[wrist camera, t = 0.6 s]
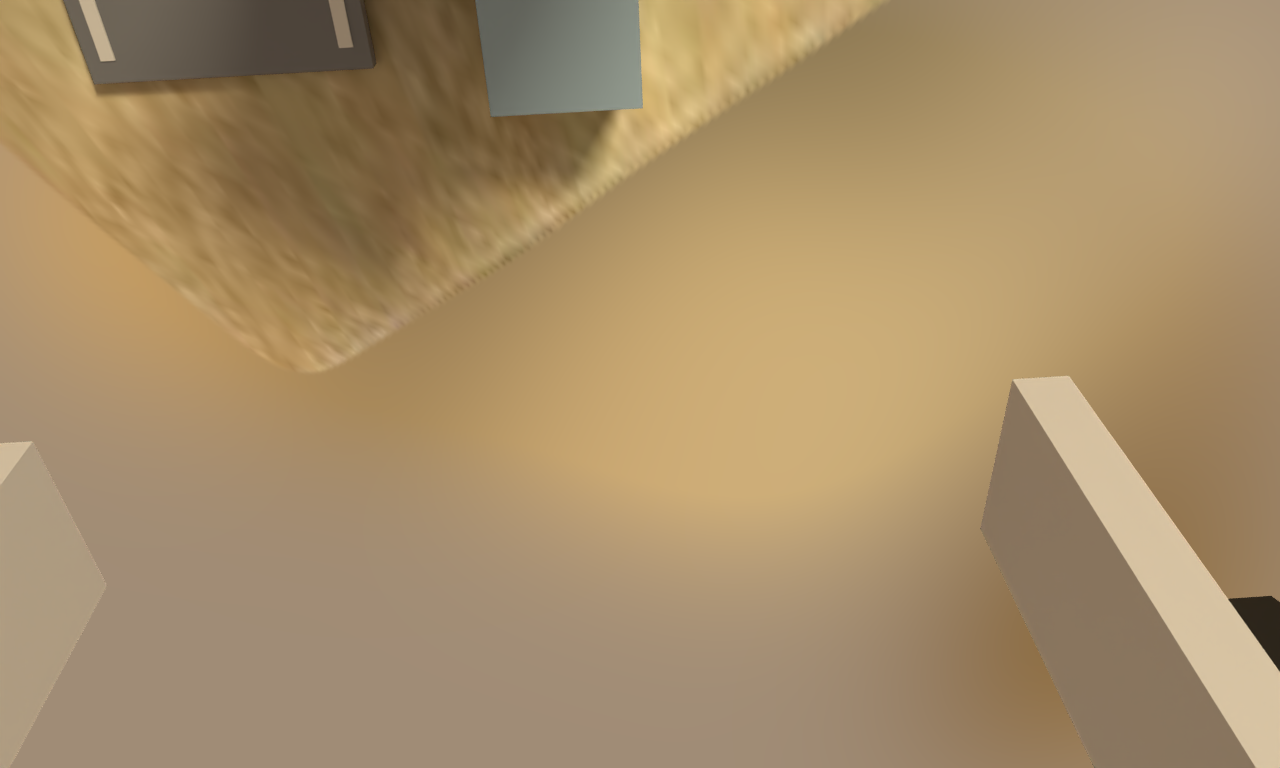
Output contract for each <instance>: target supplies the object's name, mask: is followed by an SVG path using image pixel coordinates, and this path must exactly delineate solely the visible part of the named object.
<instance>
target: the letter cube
mask: <svg viewBox="0 0 1280 768" xmlns="http://www.w3.org/2000/svg"><path fill="white" fill-rule="evenodd" d="M475 2H476V10H477V17H478V25H479V32H480V40H481V47H482V55H483V62H484V70H485V77H486V85H487V92H488V99H489V107H490V114H491V117H498V116H515V115H533V114H550V113H568V112H585V111H603V110H620V109H638V108H643V102H642V77H641V53H640V29H639V4H638V0H475Z"/></svg>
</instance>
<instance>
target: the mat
mask: <svg viewBox="0 0 1280 768" xmlns="http://www.w3.org/2000/svg"><path fill="white" fill-rule="evenodd" d="M63 1H64V4H65V6H66V9H67V12H68V14H69V17H70V20H71V22H72V25H73V28H74V31H75V33H76V36H77V39H78V41H79V44H80V47H81V50H82V52H83V55H84V58H85V60H86V63H87V66H88V68H89V71H90V74H91V77H92V79H93V82H94V84H106V83H124V82H142V81H159V80H177V79H195V78H212V77H230V76H247V75H265V74H283V73H300V72H318V71H336V70H353V69H371V68H374V66H375V65H376V59H375V54H374V49H373V44H372V39H371V34H370V29H369V24H368V19H367V14H366V9H365V4H364V0H63Z"/></svg>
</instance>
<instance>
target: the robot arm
mask: <svg viewBox="0 0 1280 768" xmlns="http://www.w3.org/2000/svg"><path fill="white" fill-rule="evenodd" d="M980 529H981V531H982V533H983V535H984V537H985V540H986V541H987V544H988V546H989V548H990V550H991V552H992V554H993V556H994V559H995V561H996V563H997V565H998V567H999V569H1000V571H1001V573H1002V575H1003V577H1004V579H1005V581H1006V584H1007V585H1008V588H1009V590H1010V592H1011V594H1012V596H1013V598H1014V600H1015V603H1016V605H1017V607H1018V609H1019V611H1020V613H1021V615H1022V617H1023V619H1024V622H1025V624H1026V626H1027V628H1028V630H1029V632H1030V634H1031V636H1032V638H1033V640H1034V642H1035V645H1036V646H1037V649H1038V651H1039V653H1040V655H1041V657H1042V659H1043V661H1044V664H1045V665H1046V668H1047V670H1048V672H1049V674H1050V676H1051V678H1052V680H1053V682H1054V685H1055V687H1056V689H1057V690H1058V693H1059V695H1060V697H1061V699H1062V701H1063V703H1064V705H1065V707H1066V710H1067V712H1068V714H1069V716H1070V718H1071V720H1072V722H1073V724H1074V727H1075V729H1076V731H1077V733H1078V735H1079V737H1080V739H1081V741H1082V743H1083V745H1084V747H1085V750H1086V752H1087V754H1088V756H1089V758H1090V760H1091V762H1092V764H1093V766H1094V768H1280V602H1279V601H1277V600H1276V599H1275V598H1273V597H1272V596H1263V597H1249V598H1233V599H1227V597H1226V596H1225V594H1224V593H1223V592H1222V590H1221V589H1220V587H1219V586H1218V585H1217V583H1216V582H1215V580H1214V579H1213V577H1212V576H1211V575H1210V573H1209V572H1208V570H1207V569H1206V568H1205V566H1204V565H1203V563H1202V562H1201V561H1200V559H1199V558H1198V556H1197V555H1196V554H1195V552H1194V551H1193V550H1192V548H1191V547H1190V545H1189V544H1188V542H1187V541H1186V540H1185V538H1184V537H1183V535H1182V534H1181V533H1180V531H1179V530H1178V528H1177V527H1176V526H1175V524H1174V523H1173V521H1172V520H1171V519H1170V517H1169V516H1168V514H1167V513H1166V512H1165V510H1164V509H1163V507H1162V506H1161V505H1160V503H1159V502H1158V500H1157V499H1156V498H1155V496H1154V495H1153V493H1152V492H1151V491H1150V489H1149V488H1148V486H1147V485H1146V483H1145V482H1144V481H1143V479H1142V478H1141V477H1140V475H1139V474H1138V472H1137V471H1136V469H1135V468H1134V467H1133V465H1132V464H1131V462H1130V461H1129V460H1128V458H1127V457H1126V455H1125V454H1124V453H1123V451H1122V450H1121V448H1120V447H1119V446H1118V444H1117V443H1116V442H1115V440H1114V439H1113V437H1112V436H1111V434H1110V433H1109V432H1108V430H1107V429H1106V428H1105V426H1104V425H1103V423H1102V422H1101V421H1100V419H1099V418H1098V416H1097V415H1096V413H1095V412H1094V411H1093V409H1092V408H1091V406H1090V405H1089V404H1088V402H1087V401H1086V399H1085V398H1084V397H1083V395H1082V394H1081V393H1080V391H1079V390H1078V388H1077V387H1076V385H1075V384H1074V383H1073V381H1072V380H1071V378H1070V377H1069V376H1059V377H1043V378H1028V379H1013V380H1012V384H1011V389H1010V393H1009V398H1008V403H1007V407H1006V412H1005V417H1004V421H1003V426H1002V431H1001V436H1000V440H999V444H998V450H997V454H996V458H995V463H994V468H993V472H992V477H991V482H990V486H989V491H988V496H987V500H986V506H985V510H984V514H983V519H982V524H981V528H980ZM106 587H107V585H106V583H105V581H104V579H103V577H102V575H101V573H100V571H99V569H98V567H97V565H96V563H95V561H94V559H93V557H92V555H91V553H90V552H89V550H88V548H87V546H86V544H85V542H84V540H83V538H82V536H81V534H80V532H79V530H78V528H77V526H76V524H75V522H74V520H73V518H72V517H71V515H70V513H69V511H68V509H67V507H66V505H65V503H64V501H63V499H62V497H61V495H60V493H59V491H58V489H57V487H56V485H55V483H54V481H53V479H52V478H51V475H50V473H49V472H48V470H47V468H46V466H45V464H44V462H43V460H42V458H41V456H40V454H39V452H38V450H37V448H36V446H35V444H34V442H33V441H29V442H14V443H0V768H10V766H11V764H12V762H13V760H14V759H15V757H16V755H17V753H18V751H19V749H20V747H21V746H22V744H23V742H24V740H25V738H26V736H27V734H28V732H29V731H30V729H31V727H32V725H33V723H34V721H35V719H36V718H37V716H38V714H39V712H40V710H41V708H42V706H43V704H44V702H45V701H46V699H47V697H48V695H49V693H50V691H51V690H52V688H53V686H54V684H55V682H56V680H57V678H58V676H59V674H60V673H61V671H62V669H63V667H64V665H65V663H66V661H67V660H68V658H69V656H70V654H71V652H72V650H73V648H74V647H75V645H76V643H77V641H78V639H79V637H80V635H81V633H82V632H83V630H84V628H85V626H86V624H87V622H88V620H89V618H90V617H91V615H92V613H93V611H94V609H95V607H96V605H97V604H98V602H99V600H100V598H101V596H102V594H103V592H104V590H105V589H106Z"/></svg>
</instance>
